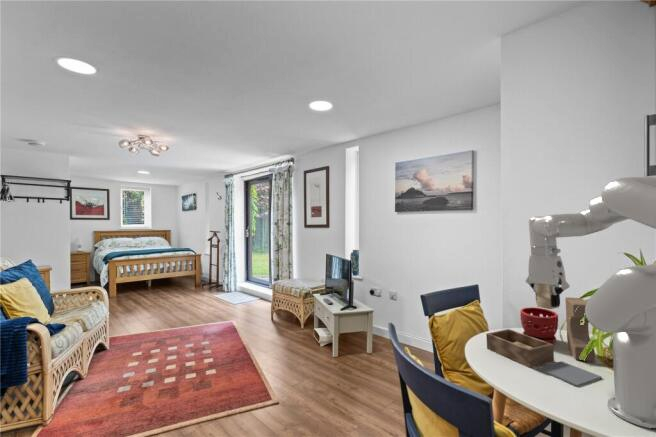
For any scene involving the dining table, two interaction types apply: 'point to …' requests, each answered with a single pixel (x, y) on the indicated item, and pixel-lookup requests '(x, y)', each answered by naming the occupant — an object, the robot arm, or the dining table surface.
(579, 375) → the mat
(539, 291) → the maple block
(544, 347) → the walnut box
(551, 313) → the plant pot
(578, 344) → the decorative block
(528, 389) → the dining table surface
